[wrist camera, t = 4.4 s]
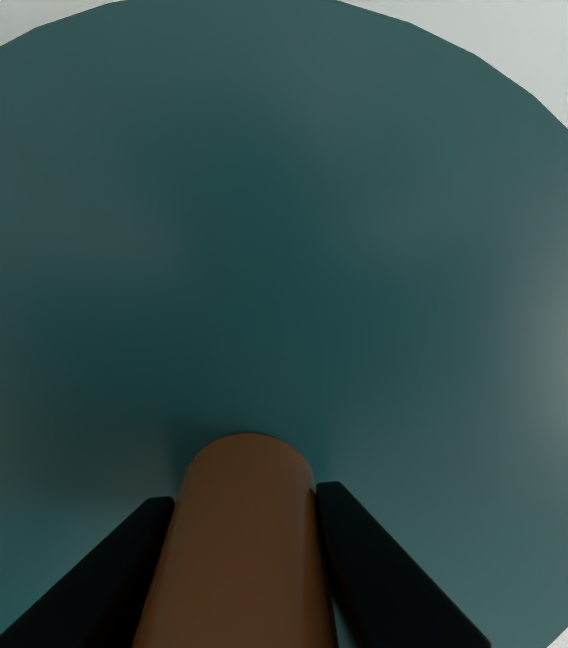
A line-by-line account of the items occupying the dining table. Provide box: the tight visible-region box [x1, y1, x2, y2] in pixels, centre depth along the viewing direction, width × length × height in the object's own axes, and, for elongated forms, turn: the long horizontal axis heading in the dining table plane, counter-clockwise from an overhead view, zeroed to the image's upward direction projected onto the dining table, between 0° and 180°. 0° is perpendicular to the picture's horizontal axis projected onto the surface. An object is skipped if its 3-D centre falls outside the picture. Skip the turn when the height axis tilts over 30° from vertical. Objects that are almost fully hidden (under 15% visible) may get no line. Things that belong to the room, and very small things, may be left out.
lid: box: [0, 0, 568, 648], centre depth 6 cm, size 15×15×5 cm
